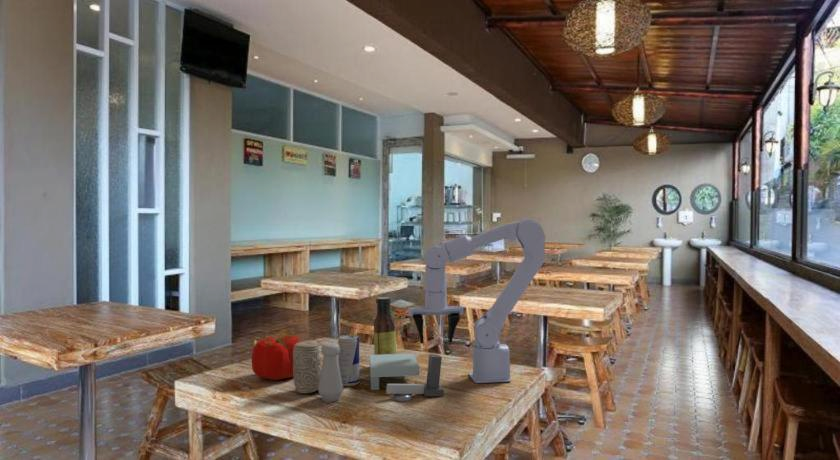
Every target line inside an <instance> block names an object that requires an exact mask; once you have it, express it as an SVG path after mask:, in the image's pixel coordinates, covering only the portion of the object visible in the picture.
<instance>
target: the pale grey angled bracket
mask: <svg viewBox="0 0 840 460" xmlns="http://www.w3.org/2000/svg"><path fill="white" fill-rule="evenodd" d="M405 376H406V377H407V376H420V364H419V362H418V360H417V357H416V355H415V353H414V352H413V353H412V352H411V353H396V354H383V355H375V354H369V381H370V390H371V391H378V390H380V378H382V377H405Z"/></svg>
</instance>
